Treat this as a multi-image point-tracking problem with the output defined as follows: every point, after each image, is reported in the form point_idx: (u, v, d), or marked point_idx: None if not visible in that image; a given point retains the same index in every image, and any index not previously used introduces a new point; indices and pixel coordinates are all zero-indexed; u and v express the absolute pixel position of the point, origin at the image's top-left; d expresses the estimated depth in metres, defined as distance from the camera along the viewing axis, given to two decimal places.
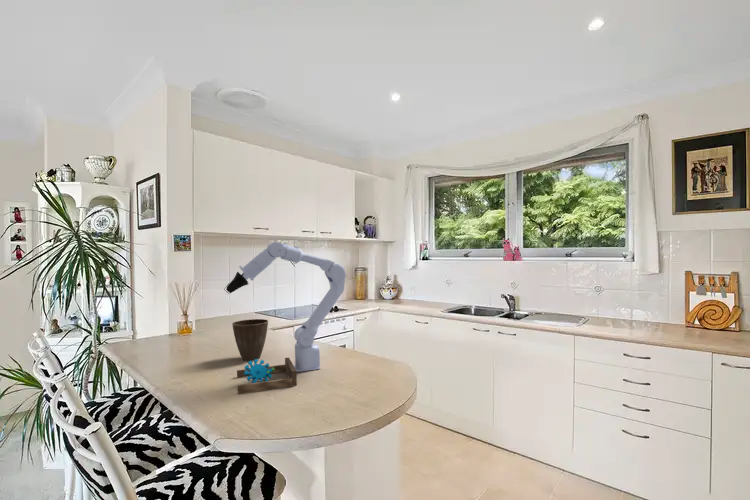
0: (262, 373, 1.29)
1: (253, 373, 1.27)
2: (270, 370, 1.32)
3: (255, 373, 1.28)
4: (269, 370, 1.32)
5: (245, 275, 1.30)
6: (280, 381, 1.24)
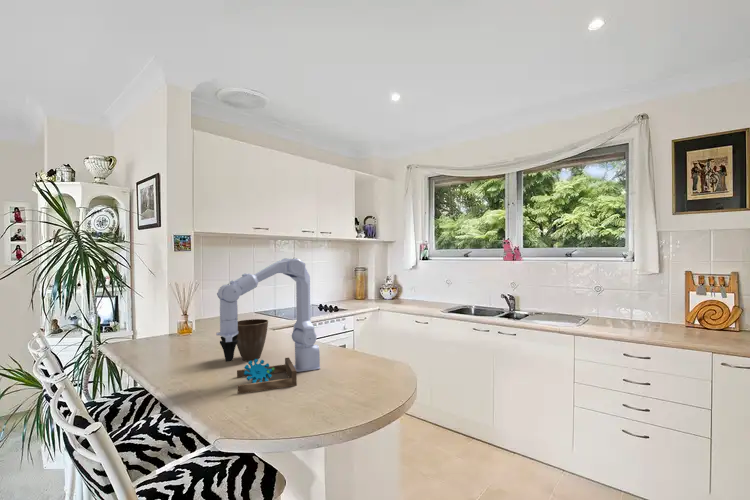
0: (262, 373, 1.29)
1: (253, 373, 1.27)
2: (270, 370, 1.32)
3: (255, 373, 1.28)
4: (269, 370, 1.32)
5: (227, 339, 1.19)
6: (280, 381, 1.24)
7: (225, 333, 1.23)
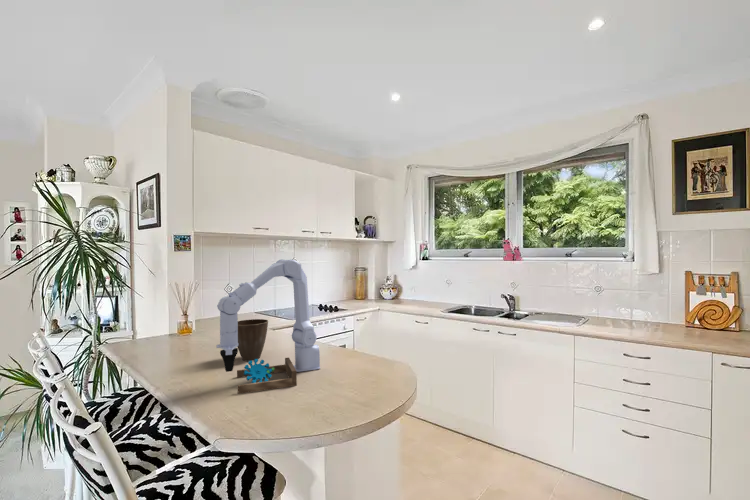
0: (262, 373, 1.29)
1: (253, 373, 1.28)
2: (270, 370, 1.32)
3: (255, 373, 1.28)
4: (269, 370, 1.32)
5: (227, 352, 1.19)
6: (280, 381, 1.24)
7: (225, 345, 1.23)
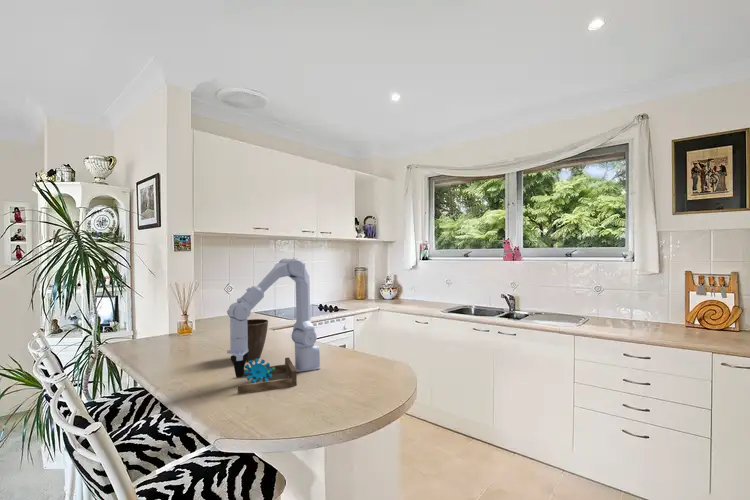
0: (262, 373, 1.30)
1: (253, 373, 1.28)
2: (270, 370, 1.32)
3: (255, 372, 1.28)
4: (269, 370, 1.32)
5: (238, 358, 1.21)
6: (280, 381, 1.24)
7: (235, 351, 1.25)
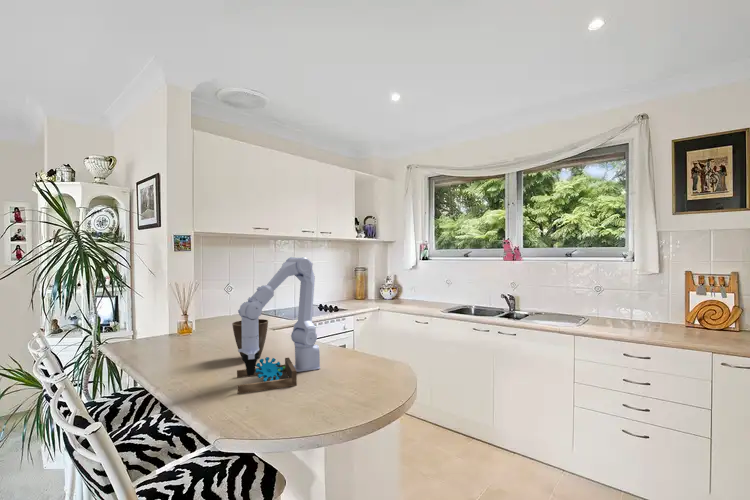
0: (273, 371, 1.31)
1: (264, 371, 1.29)
2: (281, 368, 1.33)
3: (266, 371, 1.30)
4: (280, 368, 1.33)
5: (250, 357, 1.22)
6: (280, 381, 1.24)
7: (247, 350, 1.26)
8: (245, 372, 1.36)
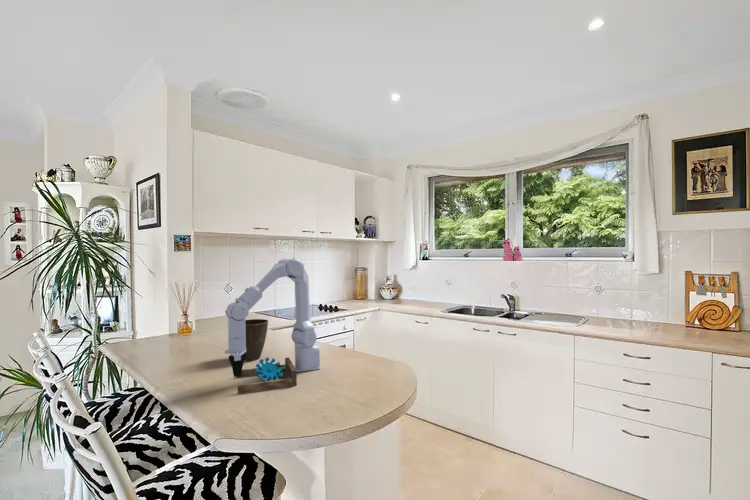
0: (273, 371, 1.31)
1: (264, 372, 1.29)
2: (281, 369, 1.33)
3: (266, 371, 1.30)
4: (280, 369, 1.33)
5: (236, 358, 1.20)
6: (280, 381, 1.24)
7: (233, 351, 1.24)
8: (245, 372, 1.36)
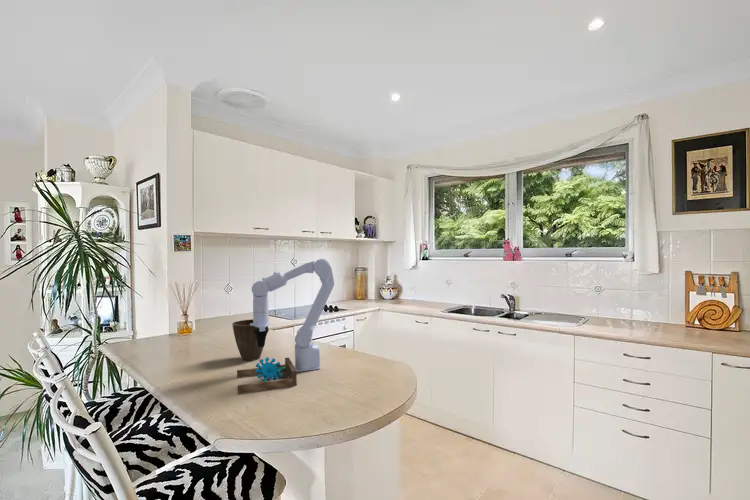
0: (273, 371, 1.31)
1: (264, 371, 1.29)
2: (281, 369, 1.33)
3: (266, 371, 1.30)
4: (280, 369, 1.33)
5: (261, 329, 1.36)
6: (280, 381, 1.24)
7: (258, 324, 1.40)
8: (245, 372, 1.36)
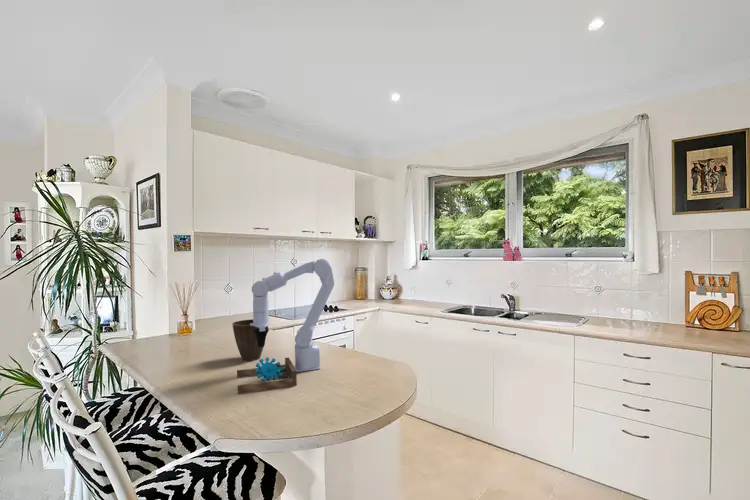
0: (273, 371, 1.31)
1: (263, 371, 1.29)
2: (281, 368, 1.33)
3: (266, 371, 1.30)
4: (280, 368, 1.33)
5: (261, 329, 1.36)
6: (280, 381, 1.24)
7: (258, 324, 1.40)
8: (245, 372, 1.36)
